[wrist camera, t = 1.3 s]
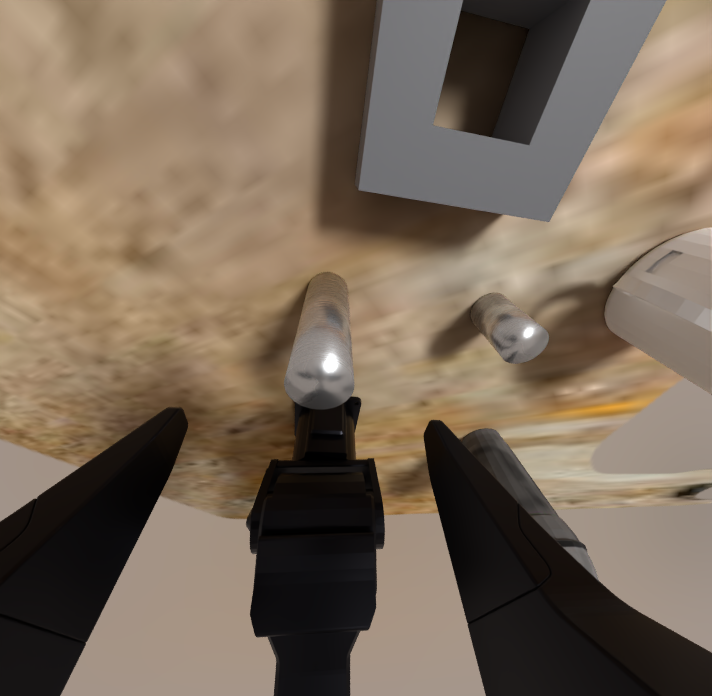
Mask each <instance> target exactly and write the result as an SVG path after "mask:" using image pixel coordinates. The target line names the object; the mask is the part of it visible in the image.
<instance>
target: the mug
mask: <svg viewBox="0 0 712 696" xmlns="http://www.w3.org/2000/svg"><path fill="white" fill-rule="evenodd" d="M612 287H614V288H613V289H612V291H611V293H610V295H609V297H608V299H607V302H606V305H605V312H604V316H605V321H606V324H607V326H608V328H609V329H610V331H611V332H613V333H614V334H616V335H617V336H619V337H620V338H622V339H624V340H625V341H627V342H628V343H630V344H632V345H633V346H635V347H636V348H638V349H640V350H641V351H643V352H644V353H646V354H648V355H649V356H651V357H652V358H654V359H656V360H657V361H659V362H660V363H662V364H664V365H665V366H667V367H668V368H670V369H672V370H673V371H675V372H676V373H678V374H680V375H681V376H683V377H684V378H686V379H687V380H689V381H691V382H692V383H694V384H696V385H697V386H699V387H700V388H702V389H703V390H705V391H707V392H708V393H710V394H711V395H712V228H704V229H700V230H696V231H692V232H689V233H685V234H682V235H680V236H677V237H675V238H673V239H670V240H668V241H666V242H665V243H663V244H661V245H659V246H657V247H656V248H654V249H653V250H651V251H650V252H649V253H647V254H646V255H644V256H643V257H642V258H641V259H639V260H638V261H637V262H636V263H635V264H634V265H632V266H631V267H630V268H629V269H628V270H627V271H626V273H625V274H624V275H623V276H622V277H621V278H620V279H619V281H618V282H617V283H616V284H614V285H613V286H612Z"/></svg>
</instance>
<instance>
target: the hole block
mask: <svg viewBox="0 0 712 696" xmlns="http://www.w3.org/2000/svg"><path fill="white" fill-rule="evenodd" d="M665 2H666V0H377V3H376V12H375V20H374V28H373V36H372V45H371V53H370V61H369V69H368V78H367V86H366V94H365V103H364V111H363V119H362V127H361V136H360V144H359V152H358V160H357V169H356V177H355V185H356V187H357V189H358V190H360V191H366V192H372V193H378V194H384V195H390V196H396V197H402V198H408V199H414V200H420V201H426V202H432V203H438V204H444V205H450V206H456V207H462V208H468V209H474V210H480V211H486V212H492V213H498V214H504V215H510V216H516V217H522V218H528V219H534V220H540V221H546V222H549V221H550V219H551V217H552V216H553V214H554V212H555V210H556V208H557V206H558V204H559V202H560V200H561V199H562V197H563V195H564V193H565V191H566V189H567V187H568V185H569V183H570V182H571V180H572V178H573V176H574V174H575V172H576V170H577V168H578V166H579V165H580V163H581V161H582V159H583V157H584V155H585V153H586V151H587V149H588V148H589V146H590V144H591V142H592V140H593V138H594V136H595V134H596V132H597V131H598V129H599V127H600V125H601V123H602V121H603V119H604V117H605V115H606V114H607V112H608V110H609V108H610V106H611V104H612V102H613V100H614V98H615V97H616V95H617V93H618V91H619V89H620V87H621V85H622V83H623V81H624V80H625V78H626V76H627V74H628V72H629V70H630V68H631V66H632V64H633V63H634V61H635V59H636V57H637V55H638V53H639V51H640V49H641V47H642V46H643V44H644V42H645V40H646V38H647V36H648V34H649V32H650V30H651V29H652V27H653V25H654V23H655V21H656V19H657V17H658V15H659V13H660V12H661V10H662V8H663V6H664V4H665ZM460 11H465V12H468V13H472V14H476V15H480V16H483V17H487V18H491V19H494V20H498V21H502V22H506V23H509V24H513V25H517V26H520V27H524V28H528V29H529V32H528V35H527V38H526V40H525V43H524V46H523V49H522V52H521V55H520V57H519V60H518V63H517V66H516V69H515V72H514V75H513V77H512V80H511V83H510V86H509V89H508V92H507V95H506V97H505V100H504V103H503V106H502V109H501V112H500V115H499V117H498V120H497V123H496V126H495V129H494V132H493V135H492V137H487V136H482V135H477V134H472V133H467V132H462V131H458V130H453V129H448V128H443V127H438V126H433V123H434V118H435V114H436V110H437V106H438V102H439V98H440V94H441V90H442V85H443V81H444V77H445V73H446V69H447V65H448V61H449V57H450V52H451V48H452V44H453V40H454V36H455V32H456V28H457V24H458V19H459V15H460Z"/></svg>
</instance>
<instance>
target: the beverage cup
mask: <svg viewBox="0 0 712 696" xmlns="http://www.w3.org/2000/svg"><path fill="white" fill-rule="evenodd" d="M462 443H463V444H464V445H465V446H466V447H467V448H468V449H469V450H470V452H471V453H472V454H473V455H474V456H475V457H476V458H477V459H478V460H479V461H480V462H481V463H482V464H483V465H484V466H485V468H486V469H487V470H488V471H489V472H490V473H491V474H492V475H493V476H494V477H495V478H496V479H497V480H498V481H499V482H500V483H501V485H502V486H503V487H504V488H505V489H506V490H507V491H508V492H509V493H510V494H511V495H512V496H513V497H514V498H515V499H516V500H517V503H519V504H520V505H521V506H522V507H523V508H524V509H525V510H526V511H527V512H528V513H529V514H530V515H531V516H532V517H533V518H534V519H535V520H536V521H537V522H538V523H539V524H540V525H541V526H542V527H543V529H544V530H546V531H547V532H548V533H549V534H550V535H551V536H552V537H553V538H554V539H555V540H556V541H557V542H558V543H559V544H560V545H561V546H562V547H563V548H564V549H565V550H566V551H567V552H569V553H570V554H571V555H572V556H573V557H574V558H575V559H576V560H577V561H578V562H579V563H580V564H581V565H582V566H583V567H585V568H586V569H587V570H588V571H589V572H590V573H591V574H592V575H593V576H594V577H595V578H596V579H597V580H598V577H597V574H596V570H595V568H594V566H593V563H592V561H591V559H590V557H589V555H588V553H587V549H586V547H585V545H584V544H583V543H581V542H580V541H579V540H578V538H577V537H576V535H575V534H574V533H573V531H572V530H571V529H570V528H569V527H568V525H567V524H566V523H565V522H564V521H563V520H562V519H561V518H560V517H559V516H558V515H557V513H556V512H555V510H554V509H553V508H552V506H551V505H550V503H549V502H548V501H547V499H546V498H545V496H544V495H543V494H542V492H541V491H540V489H539V488H538V487H537V485H536V484H535V482H534V481H533V480H532V478H531V477H530V475H529V474H528V472H527V471H526V470H525V468H524V467H523V465H522V464H521V463H520V461H519V460H518V458H517V457H516V456H515V454H514V453H513V451H512V450H511V449H510V447H509V446H508V444H507V443H506V442H505V441H504V440H503V438H502V437H501V436H500V434H499V433H498V432H497V431H496V430H493V429H480V430H476V431H474V432H472V433H470V434H468V435H467V436H466V437H465V438H464V439H463V441H462ZM598 581H599V580H598Z"/></svg>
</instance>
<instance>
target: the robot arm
mask: <svg viewBox="0 0 712 696" xmlns="http://www.w3.org/2000/svg"><path fill="white" fill-rule="evenodd" d="M360 407H361V399H360V398H358V397H350V398H349V399H348V400H347V401H346V402H344V403H343V404H341V405H339V406H337V407H334V408H330V409H311V408H307V407H304V406H301V405H299V404H297V403H296V402H295V436H296V439H295V445H294V451H293V457H292V460H279V461H278V459H272V460H271V462H270V465H269V468H267V470H266V472H265V475H264V478H263V481H262V483H261V486H260V489H259V492H258V494H257V497H256V500H255V503H254V505H253V508H252V510H251V512H250V514H249V515H248V517H247V521H246V526H247V528H248V529H249V531H250V550H251V553H252V554H257V555H256V566H255V579H254V589H253V596H252V603H251V610H250V617H251V620H252V625H253V629H254V633H255V636H256V637H268V639H269V642H270V644H271V647H272V649H273V652H274V654H275V657H276V675H275V687H274V688H275V689H274V696H350V653H351V651H352V648H353V646H354V644H355V642H356V639H357V637H358V635H359V633H360V631H364V630H368V629H369V628H370V625H371V622H372V619H373V616H374V613H375V609H376V591H377V574H376V549H383V546H384V535H385V527H384V511H383V502H382V497H381V492H380V487H379V482H378V477H377V472H376V467H375V462H374V458H368V459H367V460H356V452H355V429H356V425H357V420H358V416H359V412H360ZM187 428H188V421H187V419H186V416H185V413H184V410H183V409H182V408H180V407H168V408H166V409H165V410H163V411H162V412H160V413H159V414H157V415H156V416H154V417H153V418H151V419H150V420H148V421H147V422H146V423H144V424H143V425H141V426H140V427H138V428H137V429H135V430H134V431H132V432H131V433H130V434H128V435H127V436H125V437H124V438H122V439H121V440H119V441H118V442H116V443H115V444H113V445H112V446H111V447H109V448H108V449H106V450H105V451H103V452H102V453H100V454H99V455H97V456H96V457H95V458H93V459H92V460H90V461H89V462H87V463H86V464H84V465H83V466H81V467H80V468H78V469H77V470H76V471H74V472H73V473H71V474H70V475H68V476H67V477H65V478H64V479H62V480H61V481H59V482H58V483H57V484H55V485H54V486H52V487H51V488H49V489H48V490H46V491H45V492H44V493H42V494H41V495H39V496H38V497H37V499H33V500H32V501H30V502H29V503H27V504H26V505H25V506H23V507H21V508H20V509H18V510H17V511H16V512H14V513H13V514H11V515H10V516H8V517H7V518H5V519H4V520H2V521H1V522H0V696H60V695H61V693H62V691H63V689H64V687H65V685H66V683H67V681H68V679H69V677H70V675H71V673H72V671H73V669H74V667H75V665H76V663H77V661H78V659H79V657H80V655H81V653H82V651H83V649H84V647H85V645H86V642H87V641H88V639H89V637H90V635H91V632H92V630H93V629H94V626H95V625H96V622H97V621H98V619H99V617H100V615H101V612H102V610H103V608H104V606H105V604H106V602H107V600H108V598H109V596H110V594H111V592H112V590H113V588H114V586H115V584H116V582H117V580H118V578H119V576H120V574H121V572H122V570H123V568H124V566H125V564H126V562H127V560H128V558H129V556H130V554H131V552H132V550H133V548H134V546H135V544H136V542H137V540H138V538H139V536H140V534H141V532H142V530H143V528H144V526H145V524H146V522H147V520H148V518H149V516H150V514H151V512H152V510H153V508H154V506H155V504H156V502H157V500H158V498H159V496H160V494H161V492H162V490H163V488H164V486H165V484H166V482H167V480H168V478H169V476H170V474H171V471H172V469H173V466H174V464H175V461H176V458H177V456H178V453H179V450H180V448H181V445H182V442H183V440H184V437H185V434H186V431H187ZM424 443H425V450H426V457H427V463H428V470H429V476H430V481H431V485H432V489H433V492H434V496H435V500H436V504H437V508H438V512H439V515H440V520H441V523H442V527H443V531H444V535H445V539H446V543H447V547H448V550H449V554H450V558H451V562H452V566H453V570H454V573H455V577H456V581H457V585H458V589H459V593H460V596H461V600H462V604H463V608H464V612H465V616H466V620H467V623H468V628H469V632H470V636H471V640H472V643H473V648H474V651H475V655H476V659H477V663H478V666H479V671H480V675H481V678H482V682H483V686H484V690H485V694H486V696H712V653H711V652H710V651H708V650H706V649H704V648H702V647H701V646H699V645H697V644H695V643H693V642H692V641H690V640H688V639H686V638H684V637H682V636H681V635H679V634H677V633H676V632H674V631H672V630H670V629H668V628H667V627H665V626H663V625H661V624H659V623H658V622H656V621H654V620H652V619H651V618H649V617H647V616H645V615H643V614H642V613H640V612H638V611H637V610H635V609H633V608H632V607H630V606H629V605H627V604H626V603H625V602H623V601H622V600H620V599H619V598H618V597H617V596H615V595H614V594H613V593H612V592H611V591H609V590H608V589H607V588H606V587H605V586H604V585H603V584H602V583H601V582H599V581H598V580H597V579H596V578H595V577H594V576H593V575H592V574H591V573H590V572H589V571H588V570H587V569H586V568H585V567H583V566H582V565H581V564H580V563H579V562H578V561H577V560H576V559H575V558H574V557H573V556H572V555H571V554H570V553H569V552H567V551H566V550H565V549H564V548H563V547H562V546H561V545H560V544H559V543H558V542H557V541H556V540H555V539H554V538H553V537H552V536H551V535H550V534H549V533H548V532H547V531H546V530H544V529H543V527H542V526H541V525H540V524H539V523H538V522H537V521H536V520H535V519H534V518H533V517H532V516H531V515H530V514H529V513H528V512H527V511H526V510H525V509H524V508H523V507H522V506H521V505H520V504H519V503H517V500H516V499H515V498H514V497H513V496H512V495H511V494H510V493H509V492H508V491H507V490H506V489H505V488H504V487H503V486H502V485H501V483H500V482H499V481H498V480H497V479H496V478H495V477H494V476H493V475H492V474H491V473H490V472H489V471H488V470H487V469H486V468H485V466H484V465H483V464H482V463H481V462H480V461H479V460H478V459H477V458H476V457H475V456H474V455H473V454H472V453H471V452H470V450H469V449H468V448H467V447H466V446H465V445H464V444H463V443H462V442H461V441H460V440H459V439H458V438H457V437H456V436H455V435H454V433H453V432H452V431H451V430H450V429H449V428H448V427H447V426H446V425H445V424H444V423H443V422H442V421H440V420H431V421H429V423H428V426H427V428H426V430H425V432H424Z"/></svg>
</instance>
